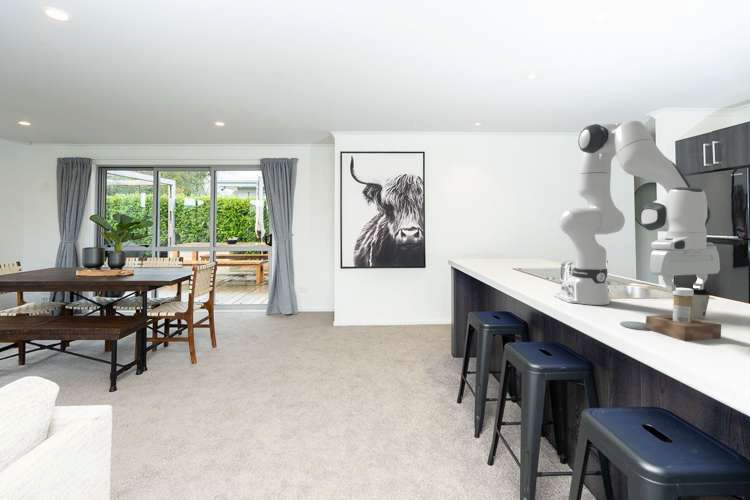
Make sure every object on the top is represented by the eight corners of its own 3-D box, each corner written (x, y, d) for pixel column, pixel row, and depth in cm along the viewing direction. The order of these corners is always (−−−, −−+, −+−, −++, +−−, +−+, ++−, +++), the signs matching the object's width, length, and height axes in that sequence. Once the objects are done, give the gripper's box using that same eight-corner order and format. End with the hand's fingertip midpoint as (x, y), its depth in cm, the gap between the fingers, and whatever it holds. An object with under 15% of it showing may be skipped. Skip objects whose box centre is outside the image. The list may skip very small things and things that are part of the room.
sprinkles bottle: (694, 333, 107) (696, 288, 106) (688, 336, 104) (690, 290, 103) (674, 330, 111) (676, 286, 110) (669, 332, 108) (670, 288, 107)
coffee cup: (714, 320, 120) (715, 291, 120) (688, 319, 122) (689, 290, 122) (702, 315, 127) (704, 287, 126) (678, 314, 129) (679, 286, 128)
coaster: (613, 323, 119) (613, 322, 119) (637, 321, 120) (637, 320, 120) (637, 331, 110) (637, 329, 110) (662, 329, 112) (662, 328, 112)
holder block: (645, 328, 112) (646, 316, 112) (678, 326, 114) (679, 314, 114) (684, 340, 101) (685, 326, 100) (720, 338, 102) (721, 324, 102)
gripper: (704, 241, 110) (703, 287, 111) (646, 243, 107) (645, 289, 108) (727, 242, 104) (726, 290, 105) (666, 243, 101) (665, 293, 101)
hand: (684, 290), depth 106 cm, fingers open, 8 cm apart
